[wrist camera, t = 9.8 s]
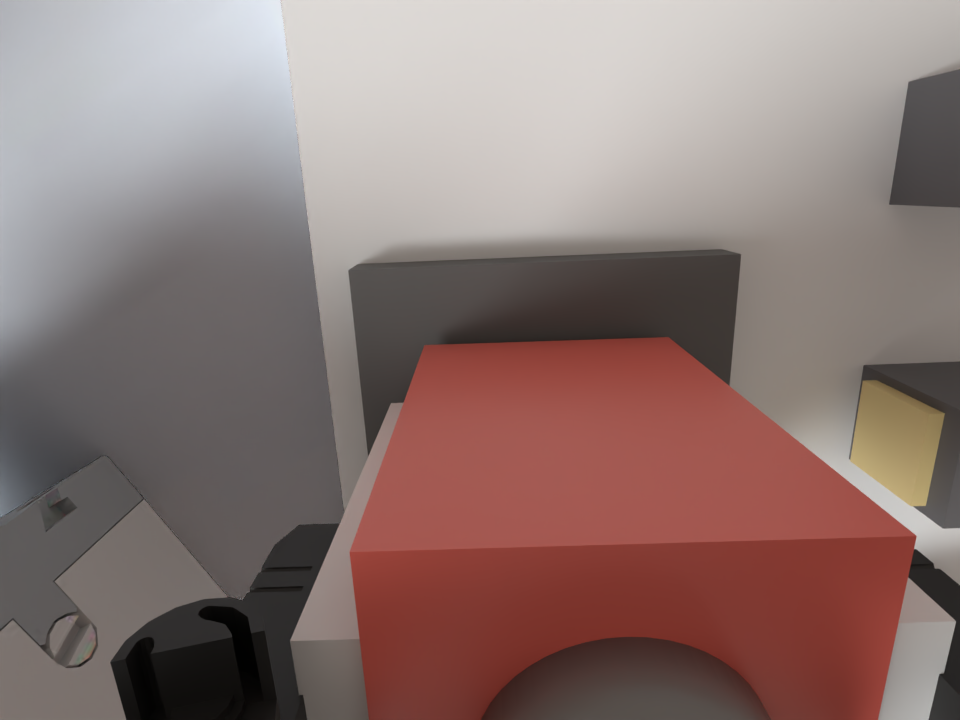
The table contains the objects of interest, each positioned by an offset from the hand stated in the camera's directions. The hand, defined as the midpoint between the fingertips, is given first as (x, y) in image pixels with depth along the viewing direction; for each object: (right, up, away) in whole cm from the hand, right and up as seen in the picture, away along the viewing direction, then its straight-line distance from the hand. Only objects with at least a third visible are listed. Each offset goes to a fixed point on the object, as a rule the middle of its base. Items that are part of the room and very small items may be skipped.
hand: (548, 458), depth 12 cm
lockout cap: (0, 0, 0) cm, 0 cm away
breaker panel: (+4, +1, +3) cm, 5 cm away
